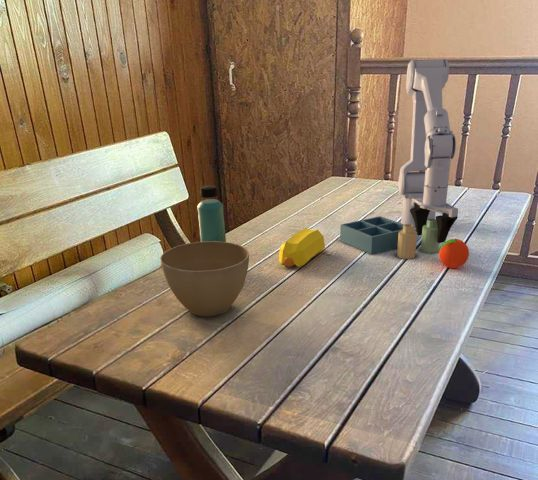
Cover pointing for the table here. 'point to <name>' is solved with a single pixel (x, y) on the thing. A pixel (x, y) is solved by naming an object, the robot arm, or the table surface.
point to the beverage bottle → (211, 216)
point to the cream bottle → (407, 242)
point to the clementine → (453, 253)
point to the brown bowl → (206, 275)
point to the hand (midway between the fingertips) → (430, 238)
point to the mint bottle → (430, 237)
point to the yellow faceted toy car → (301, 247)
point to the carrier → (371, 234)
